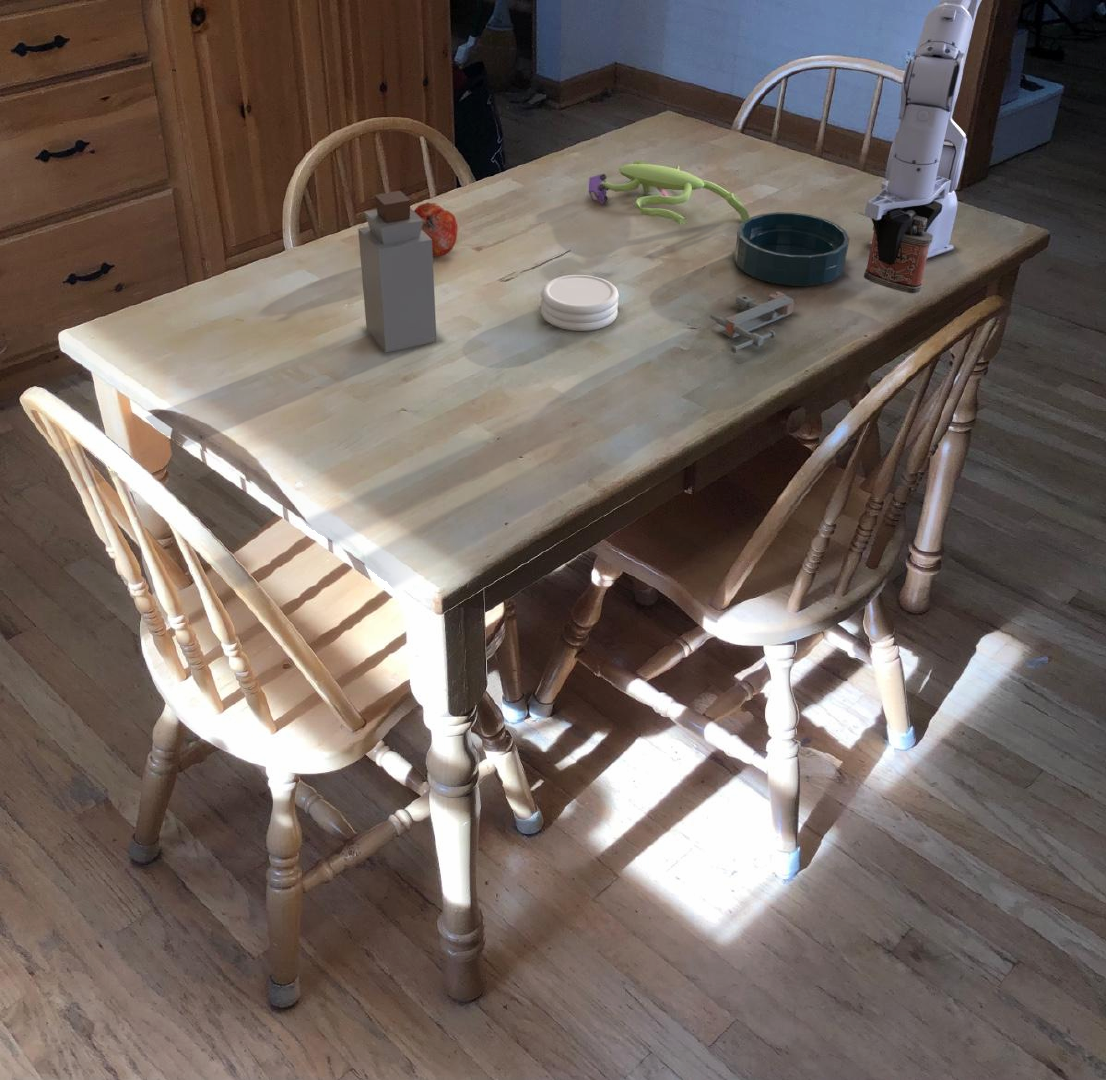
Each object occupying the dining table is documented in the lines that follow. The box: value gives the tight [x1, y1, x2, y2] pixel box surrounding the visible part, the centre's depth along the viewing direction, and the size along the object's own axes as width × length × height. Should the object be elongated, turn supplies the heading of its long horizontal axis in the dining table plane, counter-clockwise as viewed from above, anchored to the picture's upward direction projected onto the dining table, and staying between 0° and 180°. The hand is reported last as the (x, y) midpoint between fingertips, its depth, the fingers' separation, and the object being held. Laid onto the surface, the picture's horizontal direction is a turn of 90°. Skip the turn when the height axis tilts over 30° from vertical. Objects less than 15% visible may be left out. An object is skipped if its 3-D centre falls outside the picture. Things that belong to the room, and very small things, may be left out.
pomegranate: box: [413, 202, 459, 257], centre depth 172 cm, size 7×7×10 cm
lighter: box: [863, 210, 933, 295], centre depth 161 cm, size 8×3×10 cm, turn 51°
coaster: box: [540, 274, 620, 332], centre depth 158 cm, size 10×10×4 cm
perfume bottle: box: [357, 190, 438, 353], centre depth 148 cm, size 7×7×18 cm
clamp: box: [709, 291, 795, 354], centre depth 156 cm, size 15×2×10 cm
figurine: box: [587, 159, 750, 226], centre depth 186 cm, size 18×27×6 cm
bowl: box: [734, 211, 850, 287], centre depth 171 cm, size 15×15×4 cm
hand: (896, 257), depth 162 cm, fingers closed on lighter, 4 cm apart
